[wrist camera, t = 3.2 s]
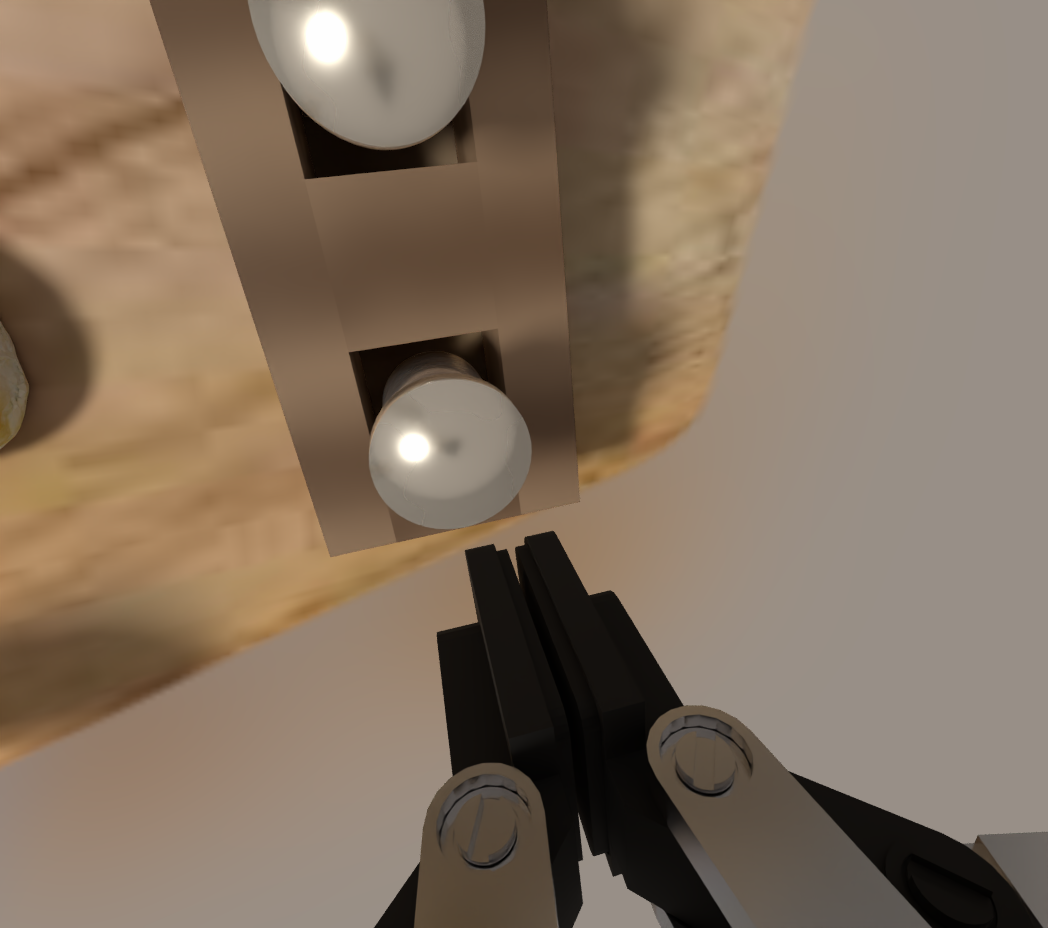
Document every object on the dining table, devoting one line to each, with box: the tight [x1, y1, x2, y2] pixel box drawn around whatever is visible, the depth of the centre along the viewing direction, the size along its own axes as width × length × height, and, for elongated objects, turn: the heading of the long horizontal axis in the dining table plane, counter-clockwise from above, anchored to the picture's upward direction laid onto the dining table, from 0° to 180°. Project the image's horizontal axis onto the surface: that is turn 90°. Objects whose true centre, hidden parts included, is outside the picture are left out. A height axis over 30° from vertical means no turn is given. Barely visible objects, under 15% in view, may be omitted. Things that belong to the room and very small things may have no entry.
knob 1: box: [248, 0, 485, 150], centre depth 13 cm, size 5×5×5 cm
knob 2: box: [369, 351, 532, 529], centre depth 17 cm, size 5×5×5 cm
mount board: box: [150, 0, 580, 557], centre depth 19 cm, size 20×10×4 cm, turn 6°
